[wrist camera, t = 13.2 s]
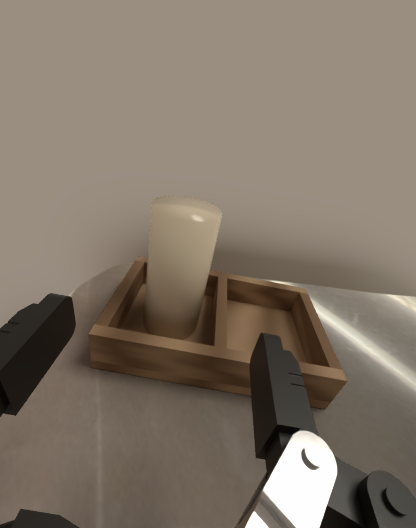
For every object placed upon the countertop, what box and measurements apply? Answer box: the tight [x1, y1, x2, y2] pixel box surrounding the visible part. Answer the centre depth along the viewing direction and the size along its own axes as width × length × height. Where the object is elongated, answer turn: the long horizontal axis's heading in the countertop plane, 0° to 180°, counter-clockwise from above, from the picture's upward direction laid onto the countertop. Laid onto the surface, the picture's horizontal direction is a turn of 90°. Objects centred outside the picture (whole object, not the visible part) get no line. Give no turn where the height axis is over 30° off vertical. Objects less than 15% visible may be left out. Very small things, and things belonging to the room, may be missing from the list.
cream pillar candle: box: [144, 196, 222, 340], centre depth 22 cm, size 5×5×12 cm
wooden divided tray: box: [88, 256, 347, 409], centre depth 25 cm, size 20×12×4 cm, turn 86°
